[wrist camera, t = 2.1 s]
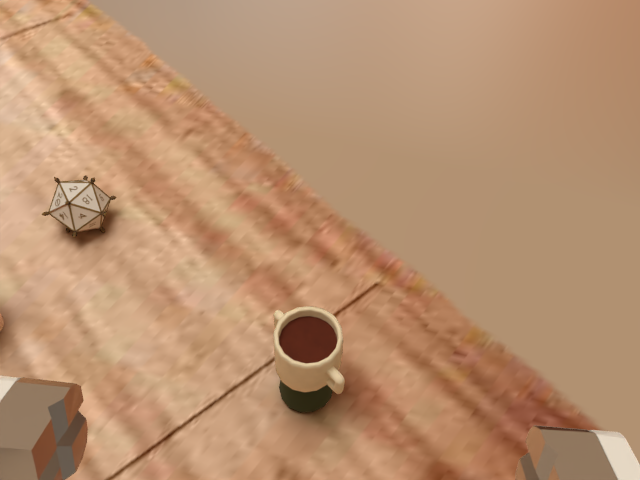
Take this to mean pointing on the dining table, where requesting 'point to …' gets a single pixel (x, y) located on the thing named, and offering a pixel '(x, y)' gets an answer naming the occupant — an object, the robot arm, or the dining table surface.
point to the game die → (79, 205)
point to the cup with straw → (1, 322)
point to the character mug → (308, 357)
